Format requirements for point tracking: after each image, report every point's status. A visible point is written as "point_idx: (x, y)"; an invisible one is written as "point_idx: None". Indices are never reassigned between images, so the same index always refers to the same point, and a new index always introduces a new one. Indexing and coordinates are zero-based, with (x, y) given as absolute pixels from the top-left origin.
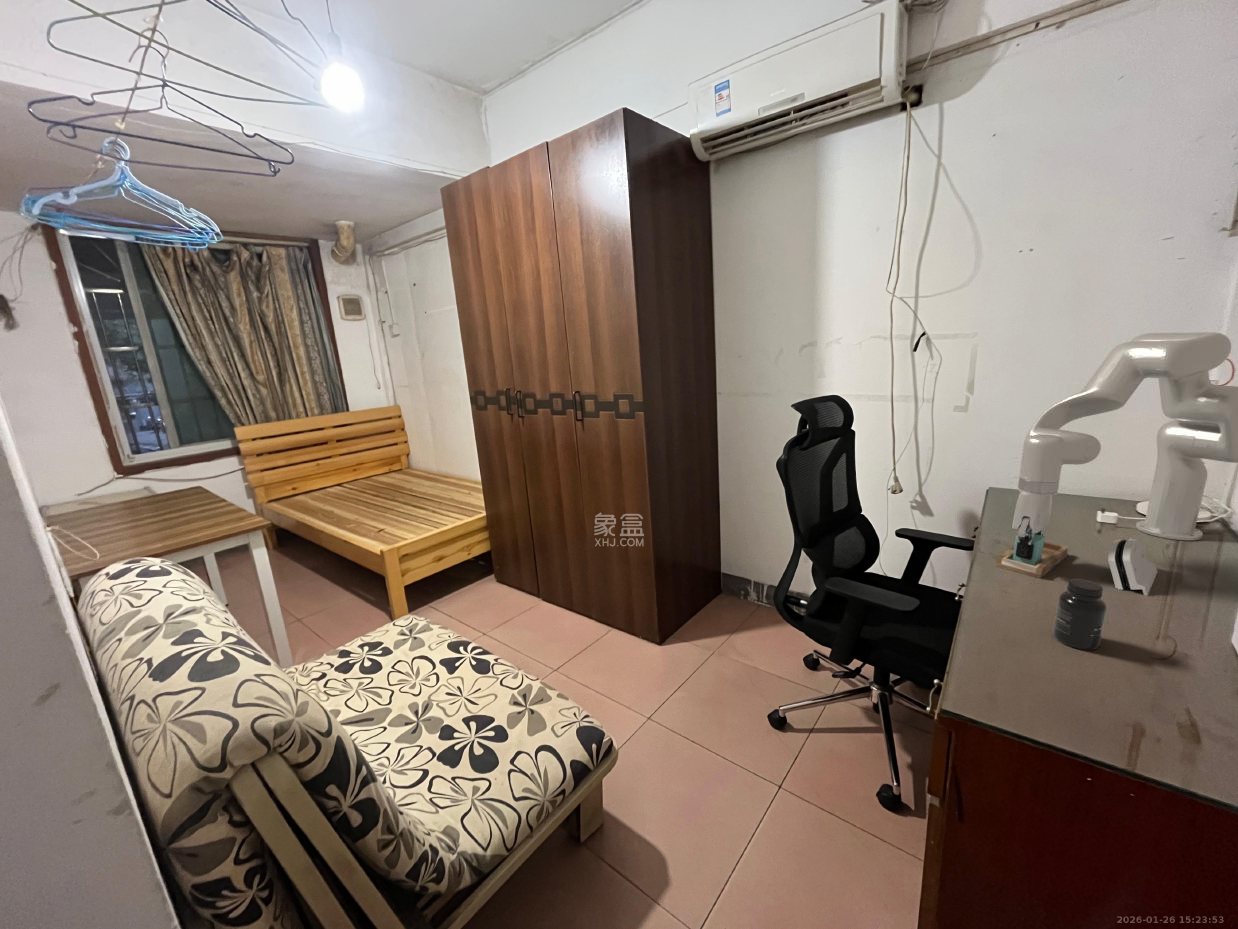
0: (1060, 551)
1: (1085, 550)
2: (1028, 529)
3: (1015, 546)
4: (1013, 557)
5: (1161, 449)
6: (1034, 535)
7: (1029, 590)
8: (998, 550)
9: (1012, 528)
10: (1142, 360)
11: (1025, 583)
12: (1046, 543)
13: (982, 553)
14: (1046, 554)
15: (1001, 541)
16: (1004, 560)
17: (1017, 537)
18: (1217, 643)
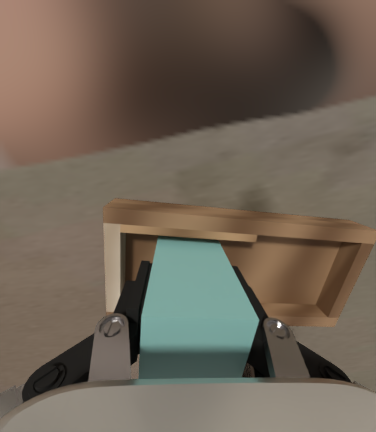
0: (289, 322)
1: (367, 321)
2: (269, 357)
3: (150, 274)
4: (157, 244)
5: None
6: (219, 368)
7: (17, 297)
8: (266, 169)
9: (14, 409)
10: None
11: (54, 282)
12: (342, 286)
13: (205, 131)
14: (278, 285)
15: (361, 156)
16: (104, 229)
17: (143, 318)
18: None
